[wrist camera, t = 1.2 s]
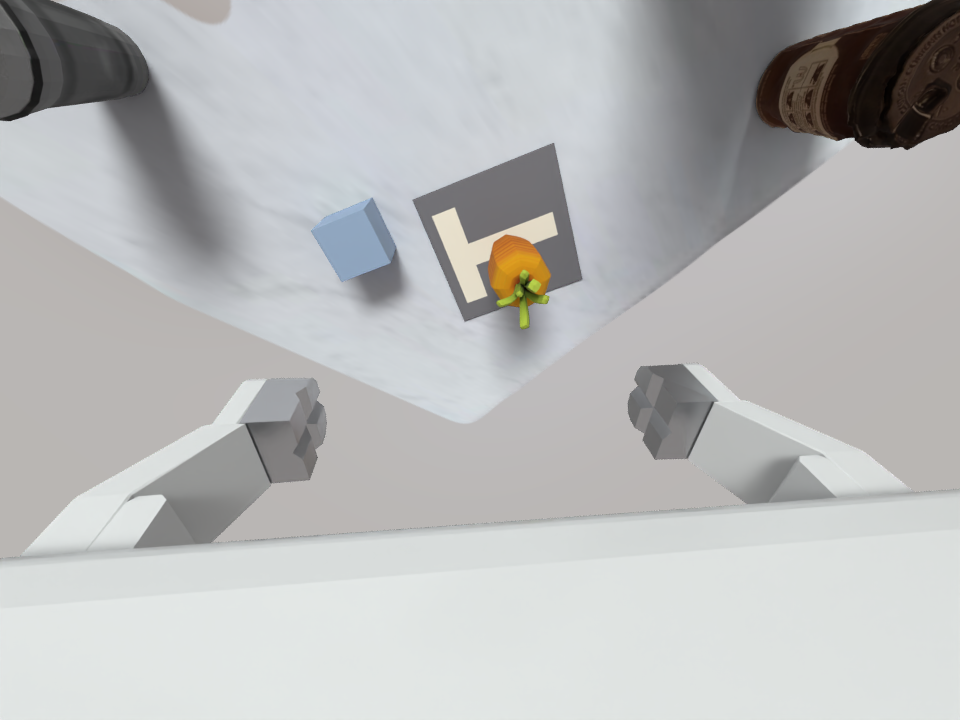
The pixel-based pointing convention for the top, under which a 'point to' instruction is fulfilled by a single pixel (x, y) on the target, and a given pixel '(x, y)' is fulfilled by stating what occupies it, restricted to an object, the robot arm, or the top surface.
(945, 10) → the coffee cup
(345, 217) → the slate cube
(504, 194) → the letter mat
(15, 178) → the top surface
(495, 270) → the carrot
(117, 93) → the beverage cup
